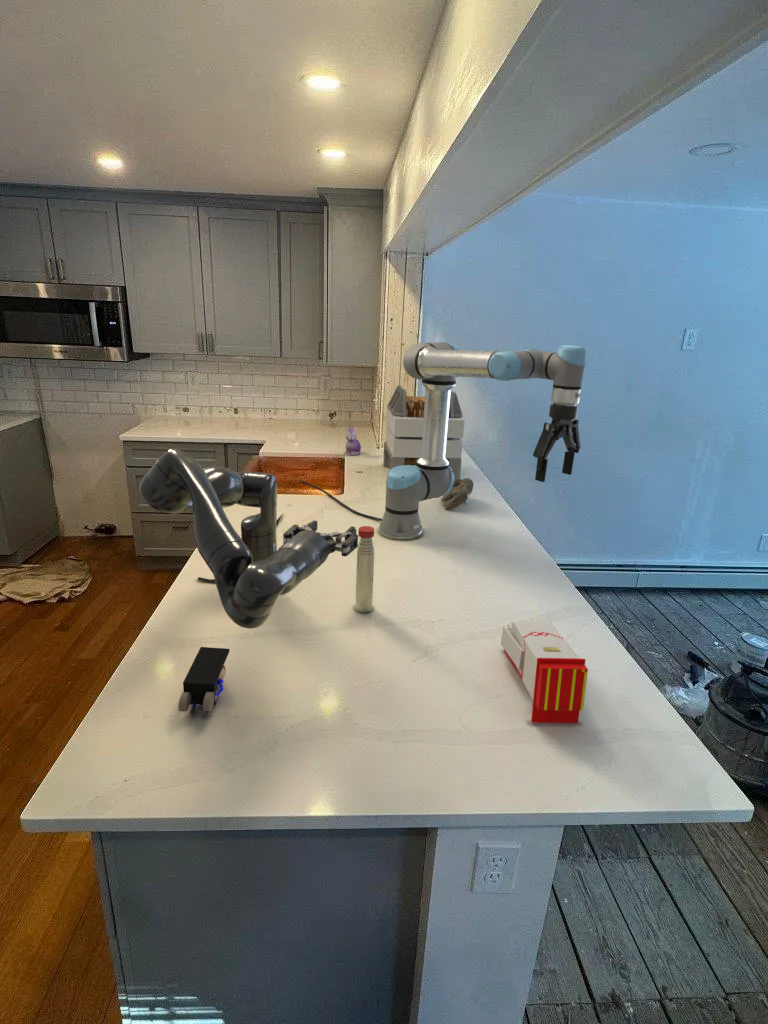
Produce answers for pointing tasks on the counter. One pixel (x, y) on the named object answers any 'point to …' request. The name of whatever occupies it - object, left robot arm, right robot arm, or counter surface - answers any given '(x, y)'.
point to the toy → (547, 670)
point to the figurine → (352, 442)
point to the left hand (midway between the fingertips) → (334, 527)
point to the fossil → (457, 493)
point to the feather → (278, 519)
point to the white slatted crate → (418, 431)
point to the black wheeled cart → (204, 680)
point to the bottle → (364, 575)
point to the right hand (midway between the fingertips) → (553, 477)
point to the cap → (366, 532)
